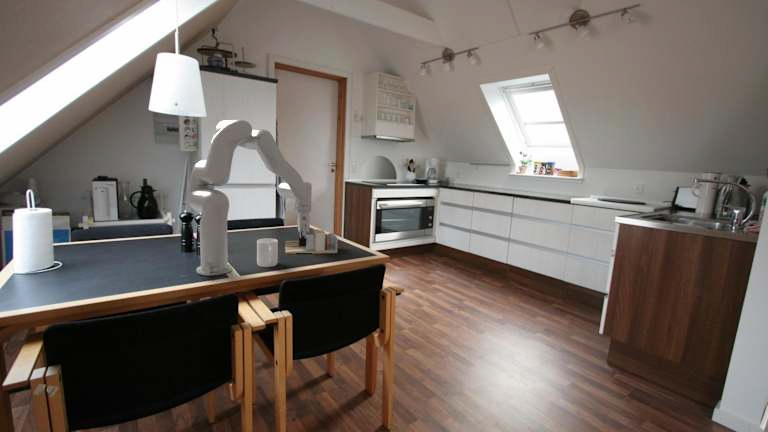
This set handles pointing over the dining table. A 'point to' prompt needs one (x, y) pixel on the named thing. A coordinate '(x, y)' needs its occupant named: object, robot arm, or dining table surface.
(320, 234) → the book
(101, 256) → the dining table surface
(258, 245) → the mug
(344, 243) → the dining table surface
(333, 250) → the rack
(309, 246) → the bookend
